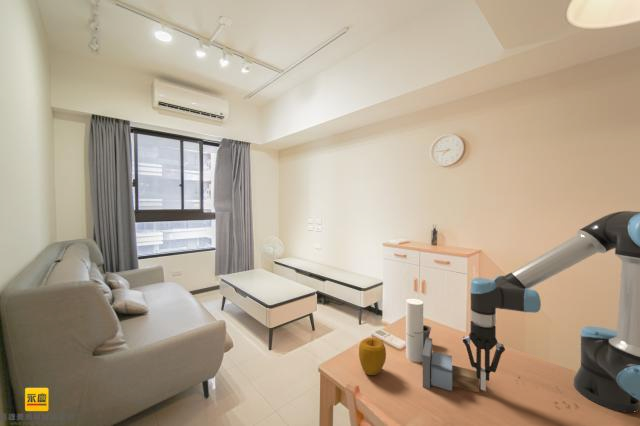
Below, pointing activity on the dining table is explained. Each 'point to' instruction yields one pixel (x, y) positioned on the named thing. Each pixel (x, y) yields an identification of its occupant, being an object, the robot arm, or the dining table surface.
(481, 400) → the dining table surface
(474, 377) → the wooden slab
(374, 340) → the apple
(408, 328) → the cylindrical container
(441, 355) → the block
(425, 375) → the wall
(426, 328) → the pipe
